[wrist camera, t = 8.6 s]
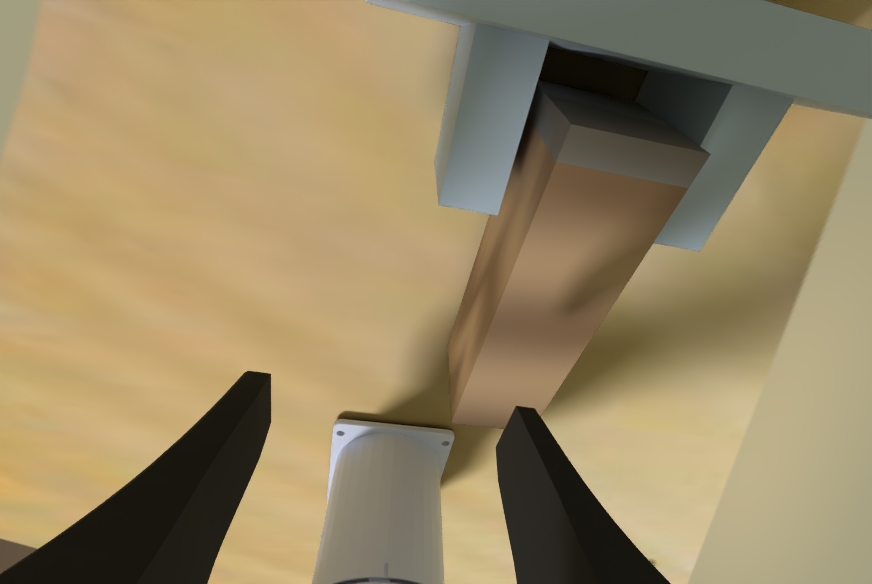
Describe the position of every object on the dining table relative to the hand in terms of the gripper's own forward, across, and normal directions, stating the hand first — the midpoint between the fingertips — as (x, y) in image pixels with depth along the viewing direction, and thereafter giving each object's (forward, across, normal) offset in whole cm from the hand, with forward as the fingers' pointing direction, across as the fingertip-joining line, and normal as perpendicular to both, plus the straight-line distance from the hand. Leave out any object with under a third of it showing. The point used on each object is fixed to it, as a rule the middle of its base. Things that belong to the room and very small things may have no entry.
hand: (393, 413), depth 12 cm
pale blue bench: (+9, -5, -8) cm, 14 cm away
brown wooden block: (+9, -5, -2) cm, 10 cm away
